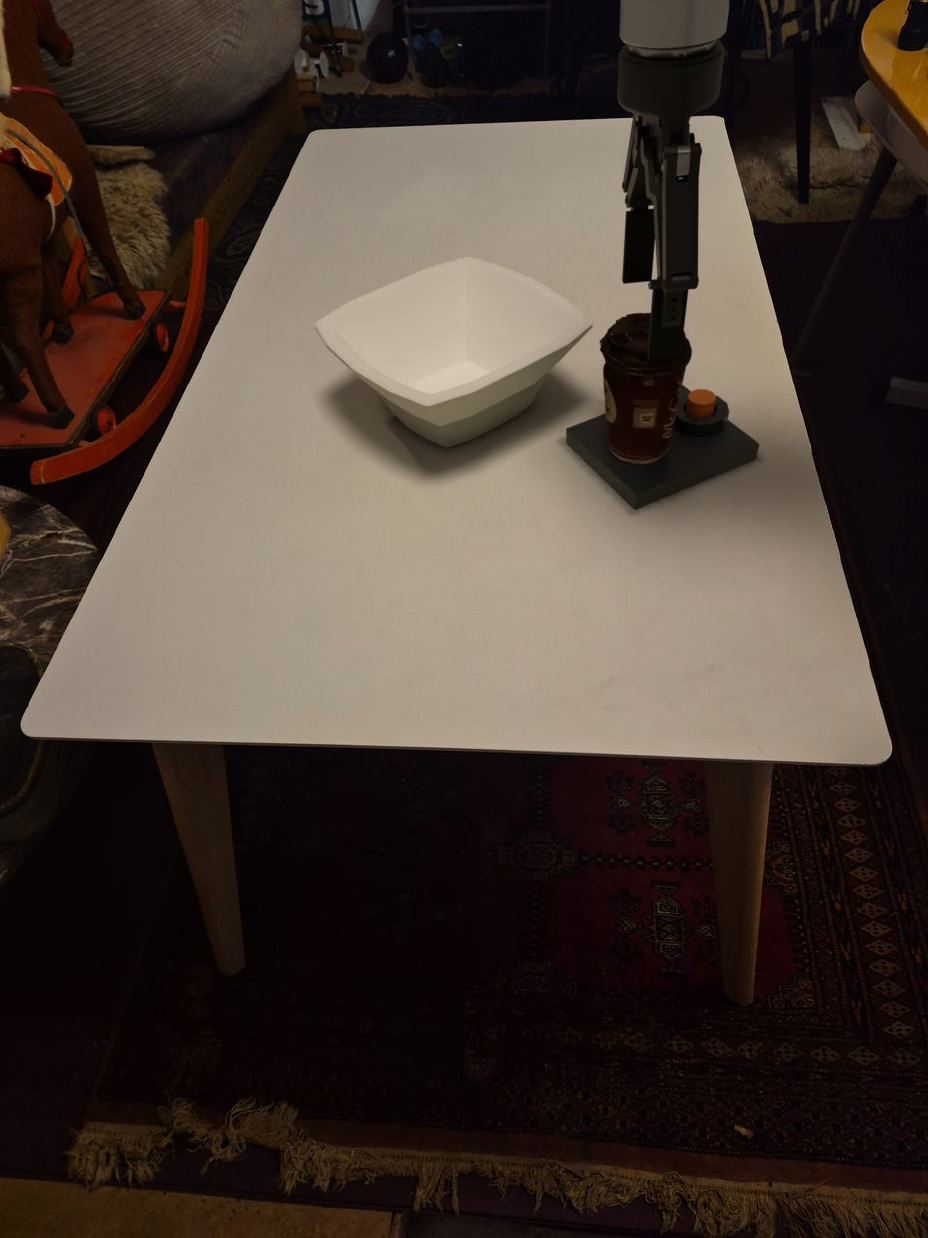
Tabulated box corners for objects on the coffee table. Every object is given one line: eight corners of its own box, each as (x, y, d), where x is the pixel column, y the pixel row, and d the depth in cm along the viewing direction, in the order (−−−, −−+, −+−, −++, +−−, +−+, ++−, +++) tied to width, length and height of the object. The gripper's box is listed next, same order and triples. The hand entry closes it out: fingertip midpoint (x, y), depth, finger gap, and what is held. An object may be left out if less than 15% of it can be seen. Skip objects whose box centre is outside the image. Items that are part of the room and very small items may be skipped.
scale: (681, 397, 97) (684, 370, 94) (757, 458, 89) (764, 430, 86) (565, 442, 93) (566, 415, 90) (634, 509, 85) (637, 482, 82)
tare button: (702, 399, 91) (704, 385, 89) (719, 412, 89) (721, 398, 88) (680, 408, 90) (682, 394, 89) (697, 421, 88) (699, 407, 87)
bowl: (610, 402, 97) (614, 318, 89) (431, 501, 88) (419, 417, 80) (479, 324, 111) (473, 246, 103) (313, 402, 102) (293, 323, 94)
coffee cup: (584, 462, 87) (587, 347, 78) (606, 415, 92) (612, 302, 83) (669, 477, 85) (683, 360, 75) (687, 429, 90) (703, 313, 80)
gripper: (772, 90, 53) (724, 388, 69) (688, -6, 70) (664, 250, 86) (651, 103, 54) (630, 396, 69) (596, 4, 70) (589, 257, 86)
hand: (649, 316), depth 77 cm, fingers open, 13 cm apart
